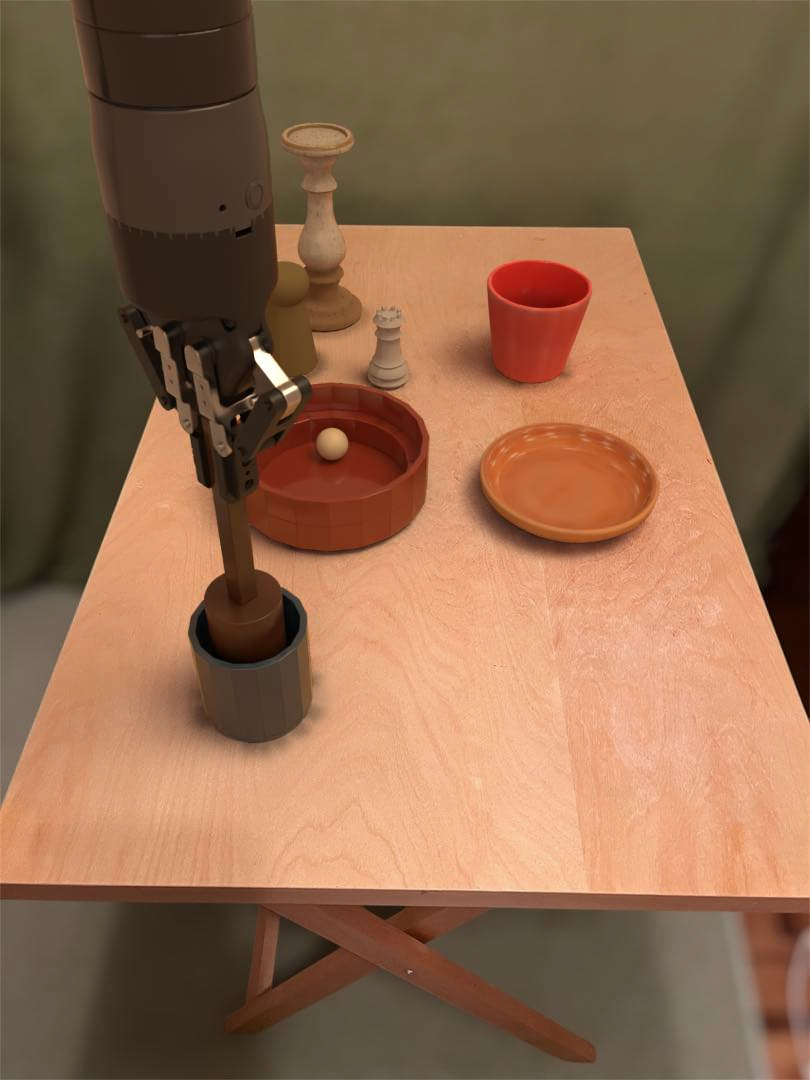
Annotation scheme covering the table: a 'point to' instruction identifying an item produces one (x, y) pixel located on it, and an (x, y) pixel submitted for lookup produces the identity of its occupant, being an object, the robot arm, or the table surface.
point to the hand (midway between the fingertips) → (228, 487)
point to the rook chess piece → (388, 351)
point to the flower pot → (535, 317)
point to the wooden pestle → (240, 586)
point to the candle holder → (322, 224)
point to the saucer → (568, 481)
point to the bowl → (343, 472)
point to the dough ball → (332, 444)
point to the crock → (255, 680)
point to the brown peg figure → (291, 321)
